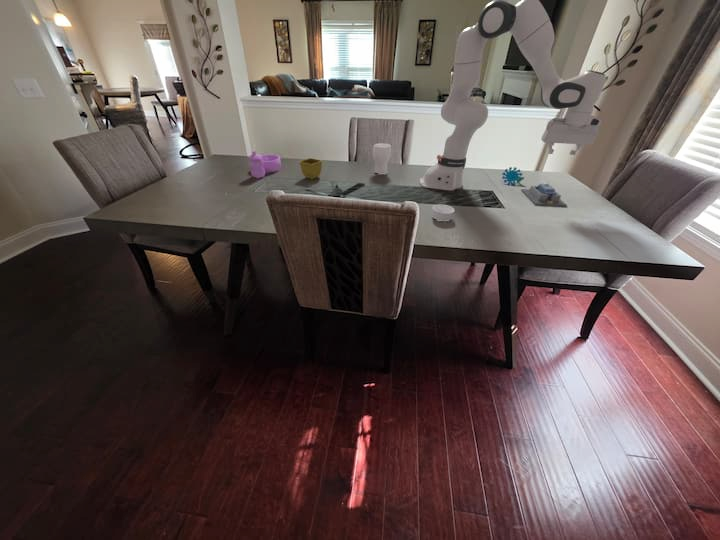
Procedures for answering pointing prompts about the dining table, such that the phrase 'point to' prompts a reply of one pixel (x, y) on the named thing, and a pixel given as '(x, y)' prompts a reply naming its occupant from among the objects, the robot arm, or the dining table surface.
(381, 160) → the cup
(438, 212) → the ramekin
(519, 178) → the blue virus model
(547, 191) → the servo
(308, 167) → the flower pot
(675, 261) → the dining table surface
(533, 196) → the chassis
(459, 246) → the dining table surface
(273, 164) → the container set
